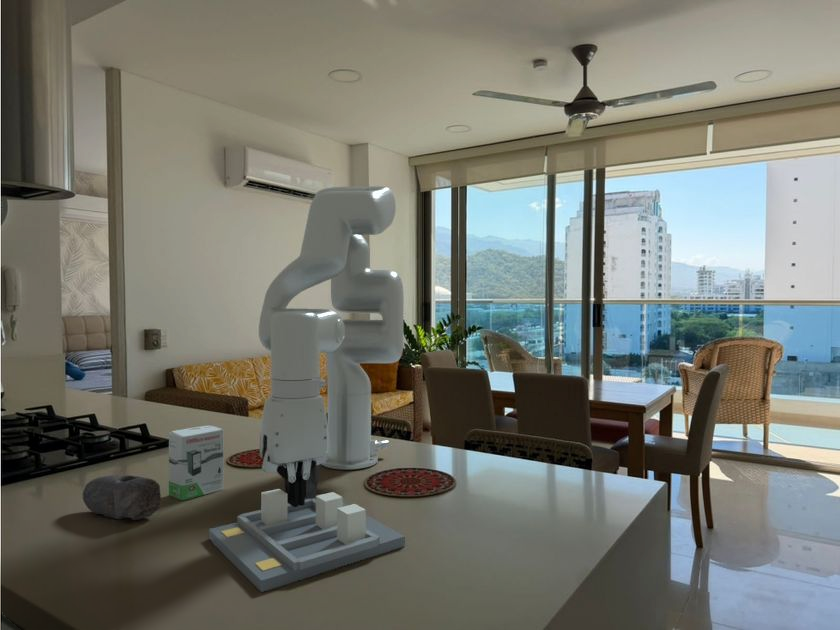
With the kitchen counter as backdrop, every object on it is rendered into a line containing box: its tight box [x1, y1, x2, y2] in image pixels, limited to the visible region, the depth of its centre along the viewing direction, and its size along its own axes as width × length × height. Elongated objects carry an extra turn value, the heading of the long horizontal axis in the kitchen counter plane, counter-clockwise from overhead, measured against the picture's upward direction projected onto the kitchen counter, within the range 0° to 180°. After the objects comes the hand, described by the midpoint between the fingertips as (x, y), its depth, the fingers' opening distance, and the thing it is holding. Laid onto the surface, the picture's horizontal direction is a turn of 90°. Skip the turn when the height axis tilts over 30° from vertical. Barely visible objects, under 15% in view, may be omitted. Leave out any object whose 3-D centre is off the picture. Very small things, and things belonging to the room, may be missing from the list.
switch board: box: [208, 498, 406, 593], centre depth 87 cm, size 22×21×2 cm
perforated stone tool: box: [82, 474, 162, 521], centre depth 97 cm, size 15×5×7 cm, turn 68°
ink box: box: [168, 425, 224, 501], centre depth 108 cm, size 9×5×12 cm, turn 140°
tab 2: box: [315, 491, 344, 529], centre depth 89 cm, size 3×3×4 cm
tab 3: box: [337, 503, 367, 544], centre depth 84 cm, size 3×3×4 cm
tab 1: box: [260, 488, 288, 525], centre depth 90 cm, size 3×3×4 cm
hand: (295, 503), depth 93 cm, fingers closed
